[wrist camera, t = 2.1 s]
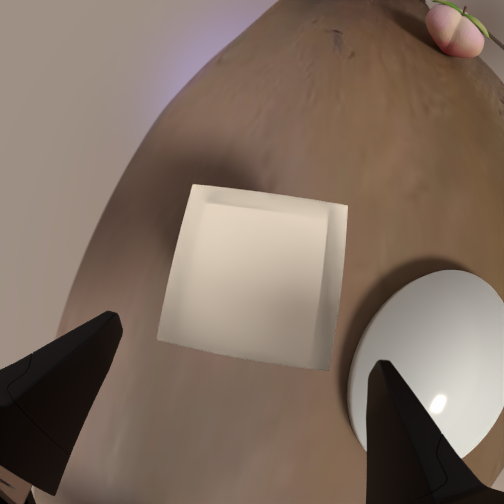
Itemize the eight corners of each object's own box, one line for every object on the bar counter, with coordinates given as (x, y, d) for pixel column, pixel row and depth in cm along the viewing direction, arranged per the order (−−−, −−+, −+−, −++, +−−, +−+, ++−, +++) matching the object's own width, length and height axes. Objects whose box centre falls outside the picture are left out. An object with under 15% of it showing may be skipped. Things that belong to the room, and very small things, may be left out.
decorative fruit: (472, 62, 27) (495, 21, 17) (467, 79, 25) (494, 31, 16) (424, 30, 29) (440, -14, 19) (411, 42, 27) (430, -9, 18)
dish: (400, 499, 14) (407, 507, 12) (302, 363, 18) (305, 365, 16) (521, 373, 16) (531, 373, 14) (453, 236, 20) (463, 230, 18)
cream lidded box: (297, 351, 18) (329, 370, 9) (211, 336, 19) (156, 339, 9) (310, 266, 20) (347, 206, 10) (227, 253, 20) (192, 184, 11)
